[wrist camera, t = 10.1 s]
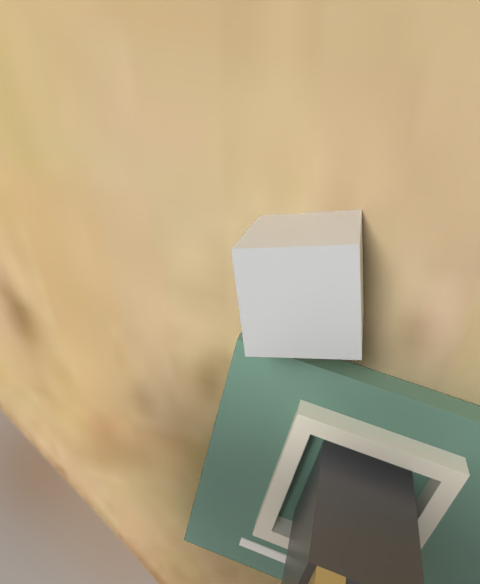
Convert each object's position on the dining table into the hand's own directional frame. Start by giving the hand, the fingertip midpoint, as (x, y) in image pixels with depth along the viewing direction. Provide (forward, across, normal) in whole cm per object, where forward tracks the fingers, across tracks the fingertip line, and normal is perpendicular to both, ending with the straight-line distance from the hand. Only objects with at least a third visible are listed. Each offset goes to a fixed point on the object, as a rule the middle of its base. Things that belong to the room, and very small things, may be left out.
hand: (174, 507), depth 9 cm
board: (+12, -7, +10) cm, 17 cm away
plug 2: (+11, -6, +9) cm, 15 cm away
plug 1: (+12, -1, -1) cm, 12 cm away
